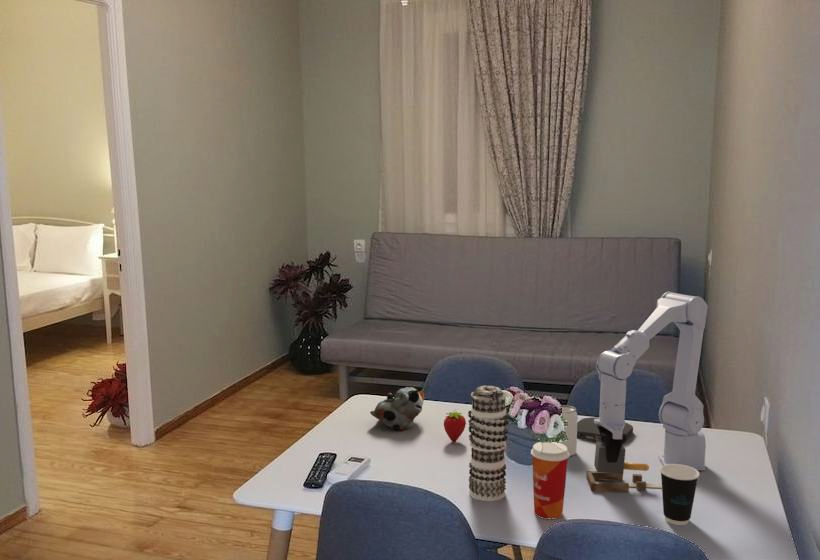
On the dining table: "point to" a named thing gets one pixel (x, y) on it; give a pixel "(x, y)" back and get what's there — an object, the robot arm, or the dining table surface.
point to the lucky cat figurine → (400, 408)
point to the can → (570, 428)
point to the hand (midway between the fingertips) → (610, 458)
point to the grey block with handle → (614, 467)
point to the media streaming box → (596, 430)
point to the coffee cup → (549, 478)
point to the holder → (616, 487)
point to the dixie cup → (678, 492)
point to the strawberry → (454, 425)
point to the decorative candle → (487, 443)
